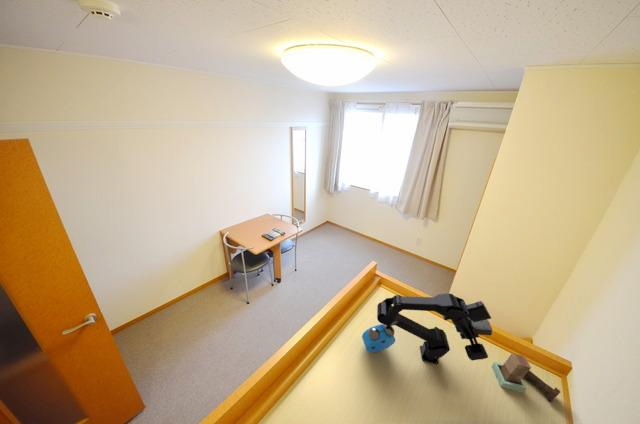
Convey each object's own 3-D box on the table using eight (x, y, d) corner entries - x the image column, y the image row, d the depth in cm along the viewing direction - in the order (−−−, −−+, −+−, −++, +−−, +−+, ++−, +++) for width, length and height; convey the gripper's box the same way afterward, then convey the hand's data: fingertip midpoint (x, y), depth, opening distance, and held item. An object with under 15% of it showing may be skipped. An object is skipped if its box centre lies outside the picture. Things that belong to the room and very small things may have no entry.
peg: (503, 383, 90) (517, 364, 84) (498, 371, 94) (511, 353, 88) (515, 386, 89) (531, 367, 83) (509, 374, 93) (524, 356, 87)
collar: (500, 386, 89) (503, 382, 88) (491, 366, 96) (494, 362, 95) (523, 392, 88) (526, 388, 86) (512, 371, 94) (515, 366, 93)
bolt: (508, 364, 99) (552, 401, 87) (505, 365, 96) (549, 403, 84) (517, 354, 98) (562, 390, 86) (514, 355, 95) (560, 392, 83)
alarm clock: (385, 335, 105) (393, 319, 96) (391, 349, 100) (400, 333, 91) (359, 341, 102) (364, 325, 93) (364, 356, 97) (370, 341, 88)
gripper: (495, 340, 75) (512, 368, 79) (474, 297, 91) (489, 322, 95) (460, 346, 80) (478, 373, 83) (446, 304, 96) (462, 328, 100)
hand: (477, 347), depth 90 cm, fingers open, 9 cm apart
